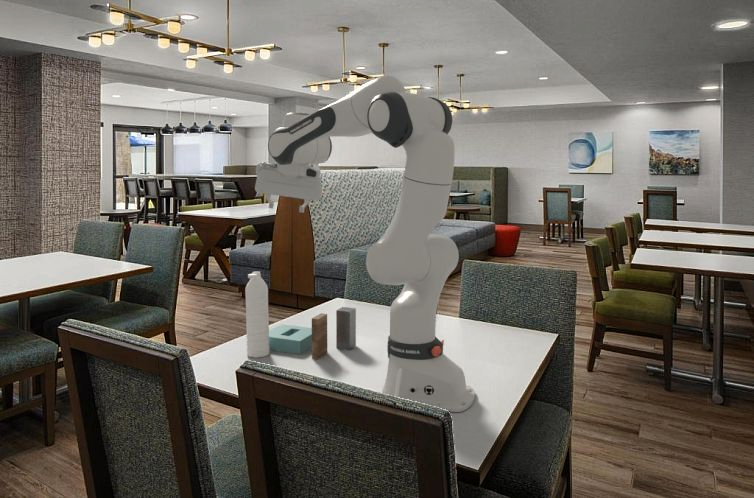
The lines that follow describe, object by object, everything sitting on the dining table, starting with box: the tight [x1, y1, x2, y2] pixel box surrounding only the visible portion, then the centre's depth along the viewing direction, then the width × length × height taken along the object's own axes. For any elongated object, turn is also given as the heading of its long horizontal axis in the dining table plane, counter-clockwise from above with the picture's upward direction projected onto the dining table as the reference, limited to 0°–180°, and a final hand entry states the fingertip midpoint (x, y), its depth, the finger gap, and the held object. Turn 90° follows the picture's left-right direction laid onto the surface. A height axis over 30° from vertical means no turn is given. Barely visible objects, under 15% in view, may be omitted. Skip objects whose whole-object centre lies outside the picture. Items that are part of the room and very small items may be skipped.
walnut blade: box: [311, 312, 328, 360], centre depth 158 cm, size 2×6×12 cm, turn 159°
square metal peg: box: [335, 306, 357, 351], centre depth 166 cm, size 4×4×12 cm
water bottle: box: [244, 270, 271, 359], centre depth 156 cm, size 9×6×25 cm
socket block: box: [269, 323, 312, 355], centre depth 168 cm, size 14×13×4 cm
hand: (286, 209), depth 166 cm, fingers open, 8 cm apart
